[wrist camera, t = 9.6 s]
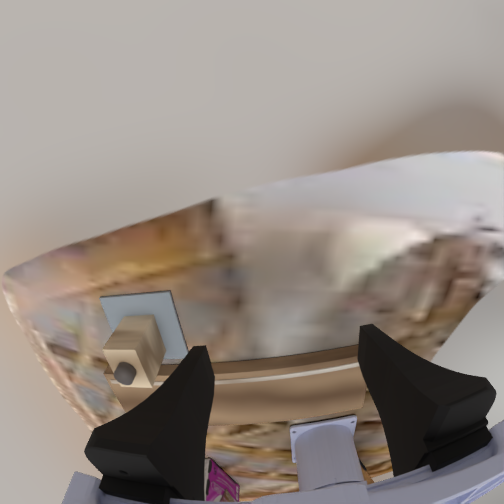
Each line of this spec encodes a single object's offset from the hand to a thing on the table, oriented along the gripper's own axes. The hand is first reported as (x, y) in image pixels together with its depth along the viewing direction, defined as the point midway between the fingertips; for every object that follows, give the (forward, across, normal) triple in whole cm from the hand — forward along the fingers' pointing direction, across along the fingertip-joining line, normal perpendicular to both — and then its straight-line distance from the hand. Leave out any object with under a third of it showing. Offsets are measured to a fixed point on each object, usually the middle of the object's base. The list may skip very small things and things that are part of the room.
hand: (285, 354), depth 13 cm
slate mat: (+10, +12, +4) cm, 17 cm away
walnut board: (+10, +5, +13) cm, 17 cm away
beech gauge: (+10, +12, +5) cm, 16 cm away
